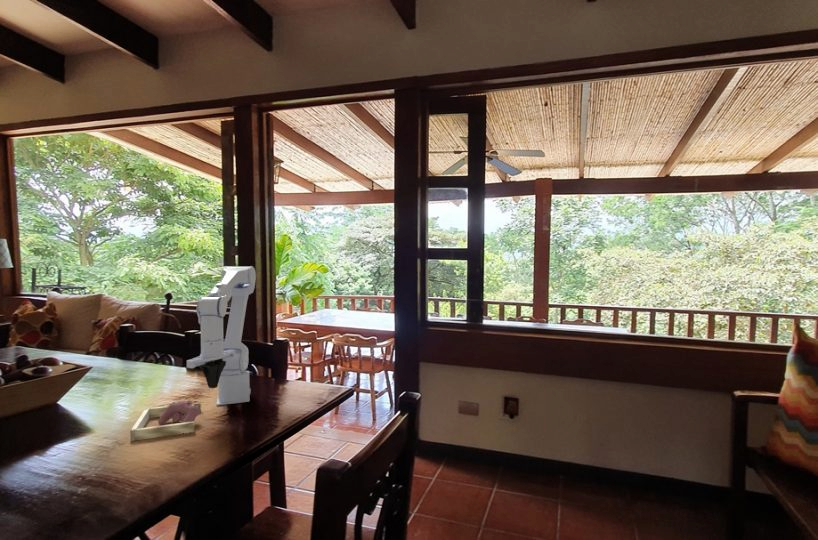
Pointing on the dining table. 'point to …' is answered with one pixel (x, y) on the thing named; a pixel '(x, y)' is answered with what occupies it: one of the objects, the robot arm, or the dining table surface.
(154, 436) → the bay
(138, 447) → the dining table surface
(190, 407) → the video game controller
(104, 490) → the dining table surface
